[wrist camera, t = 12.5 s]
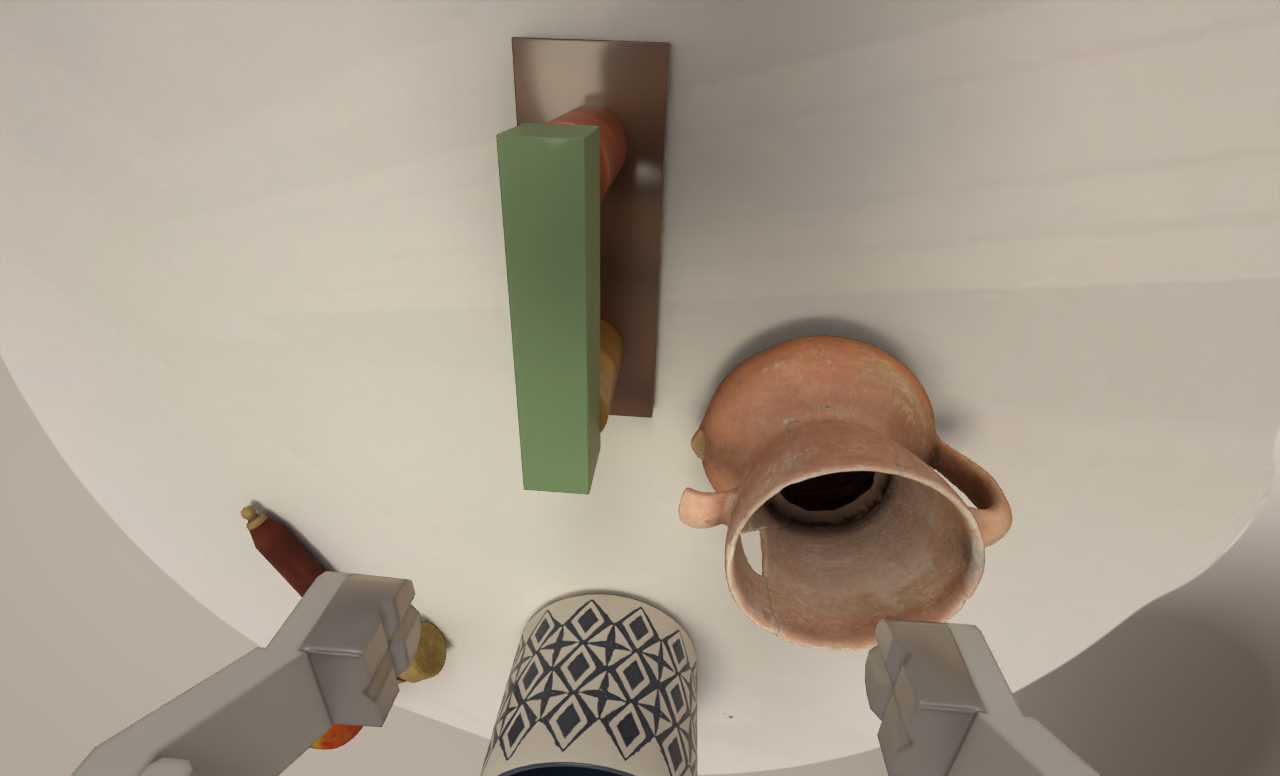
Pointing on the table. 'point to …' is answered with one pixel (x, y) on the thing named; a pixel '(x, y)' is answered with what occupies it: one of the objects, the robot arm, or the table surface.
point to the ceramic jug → (840, 494)
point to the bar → (554, 297)
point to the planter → (598, 694)
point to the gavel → (305, 569)
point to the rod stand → (613, 187)
